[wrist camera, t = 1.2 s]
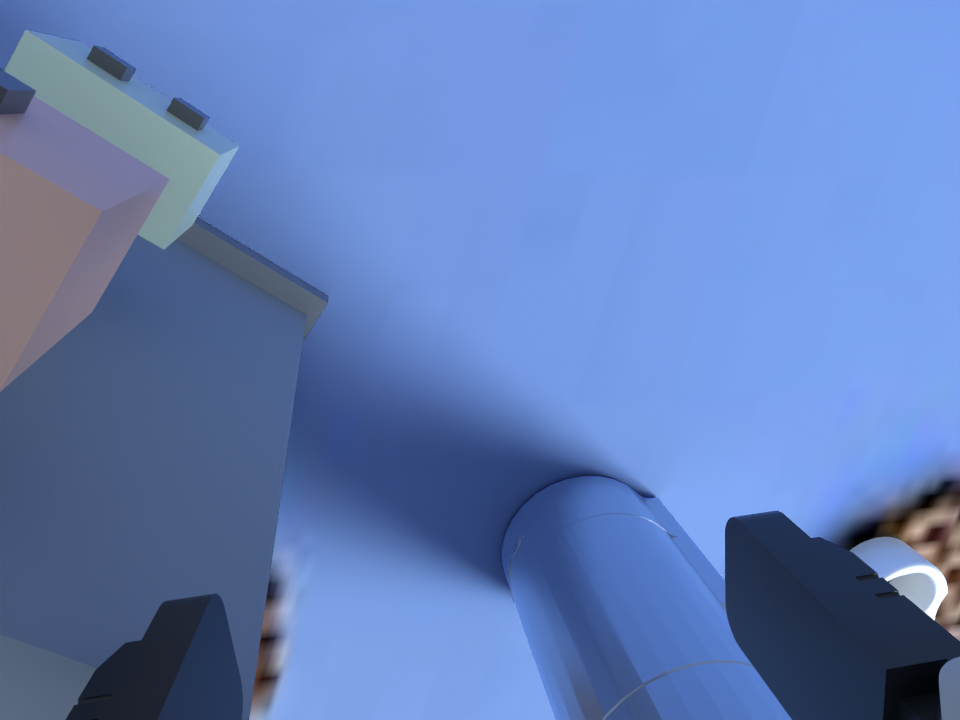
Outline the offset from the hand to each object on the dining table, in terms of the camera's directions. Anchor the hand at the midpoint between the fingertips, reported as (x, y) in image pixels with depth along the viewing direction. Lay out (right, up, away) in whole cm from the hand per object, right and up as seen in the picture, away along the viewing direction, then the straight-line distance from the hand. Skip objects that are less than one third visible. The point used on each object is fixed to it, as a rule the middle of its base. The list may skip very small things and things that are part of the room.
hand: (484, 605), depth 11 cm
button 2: (-10, +11, +11) cm, 18 cm away
